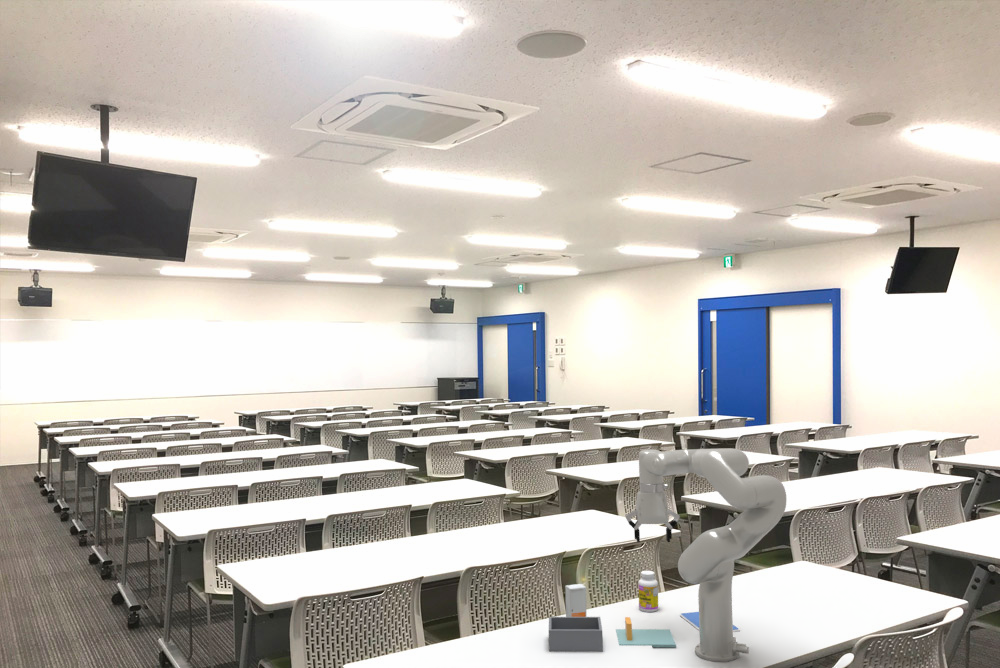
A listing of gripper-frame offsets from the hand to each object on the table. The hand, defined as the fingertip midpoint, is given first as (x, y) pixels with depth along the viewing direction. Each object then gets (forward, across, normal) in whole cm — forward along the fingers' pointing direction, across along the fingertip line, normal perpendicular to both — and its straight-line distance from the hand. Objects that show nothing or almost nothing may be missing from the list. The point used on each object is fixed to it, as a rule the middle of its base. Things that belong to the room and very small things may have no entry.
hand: (653, 541), depth 246 cm
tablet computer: (+29, -18, -6) cm, 35 cm away
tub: (+28, +26, +15) cm, 41 cm away
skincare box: (+28, +25, -7) cm, 39 cm away
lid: (+28, +4, +9) cm, 30 cm away
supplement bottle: (+28, 0, -20) cm, 35 cm away
